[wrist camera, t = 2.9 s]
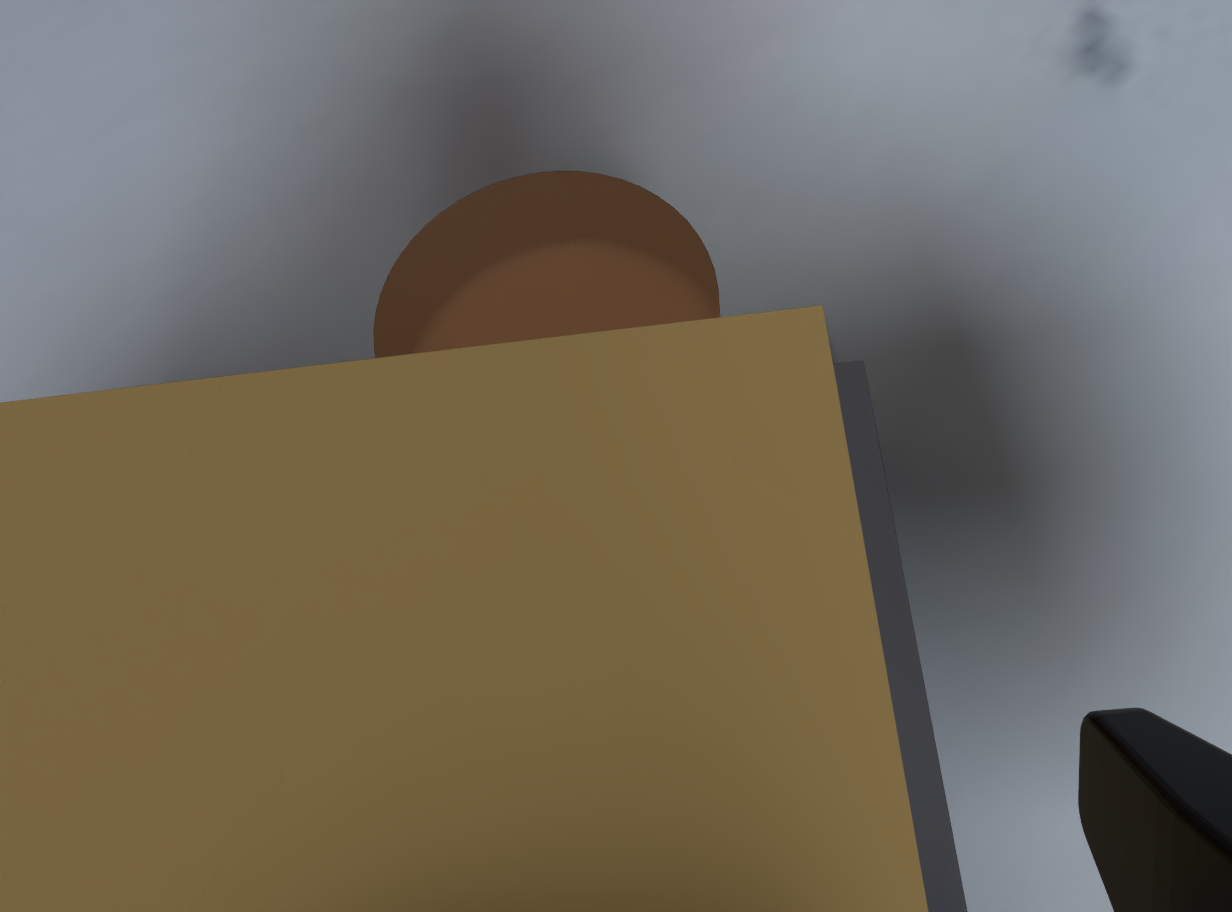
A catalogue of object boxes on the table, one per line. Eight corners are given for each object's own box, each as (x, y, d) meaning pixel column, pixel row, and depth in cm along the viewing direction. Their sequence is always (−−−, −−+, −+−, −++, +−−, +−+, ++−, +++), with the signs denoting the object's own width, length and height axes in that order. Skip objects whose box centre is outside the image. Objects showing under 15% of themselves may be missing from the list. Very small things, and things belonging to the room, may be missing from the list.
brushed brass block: (811, 955, 13) (947, 1017, 4) (418, 980, 13) (-339, 1089, 4) (780, 711, 14) (822, 303, 5) (423, 741, 14) (-144, 419, 5)
